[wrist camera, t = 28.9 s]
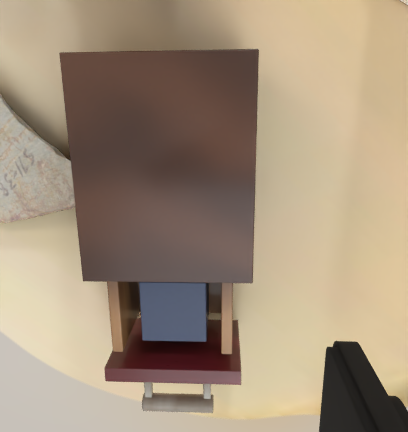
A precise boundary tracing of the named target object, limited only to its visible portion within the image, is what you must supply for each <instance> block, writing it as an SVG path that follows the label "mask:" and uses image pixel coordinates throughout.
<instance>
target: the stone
mask: <svg viewBox="0 0 408 432" xmlns="http://www.w3.org/2000/svg"><path fill="white" fill-rule="evenodd" d="M71 208H75V198H74V188H73V178H72V169H71V160H69V159H67V158H66V157H65V156H64V155H63V154H62V153H61V152H60V151H59V150H58V148H56V147H53V146H52V145H50V144H49V143H48V142H46V141H45V140H43V139H42V138H41V137H40V136H39V135H38V134H37V133H36V132H35V131H34V130H33V129H32V128H31V127H29V126H28V125H27V124H26V123H25V121H24V120H22V119H21V118H20V117H19V116H18V115H17V114H15V113H14V111H13V110H12V109H11V107H10V106H9V105H8V104H7V103H6V102H5V100H4V99H3V97H2V95H1V94H0V222H2V223H8V222H13V221H17V220H22V219H28V218H32V217H36V216H42V215H45V214H49V213H53V212H57V211H62V210H66V209H71Z"/></svg>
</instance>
